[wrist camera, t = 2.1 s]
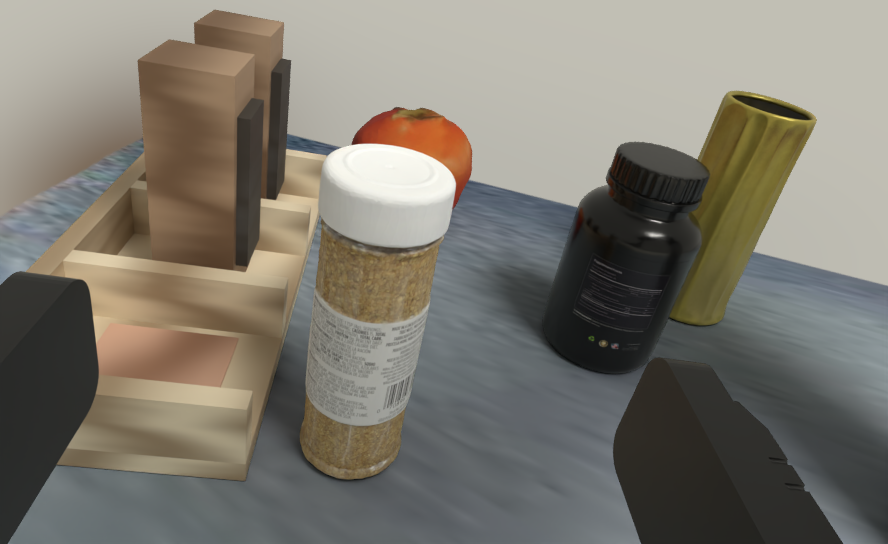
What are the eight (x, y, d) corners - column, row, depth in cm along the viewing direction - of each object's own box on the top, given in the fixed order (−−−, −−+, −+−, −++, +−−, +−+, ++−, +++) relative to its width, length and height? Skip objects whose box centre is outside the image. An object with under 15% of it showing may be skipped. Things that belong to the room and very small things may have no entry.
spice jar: (357, 393, 30) (396, 131, 23) (421, 451, 28) (486, 180, 21) (276, 435, 27) (294, 148, 20) (340, 504, 25) (385, 207, 18)
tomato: (454, 250, 44) (478, 145, 40) (328, 222, 44) (339, 114, 40) (465, 197, 52) (485, 105, 48) (358, 174, 52) (369, 79, 48)
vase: (663, 269, 48) (744, 85, 40) (737, 311, 44) (840, 119, 37) (620, 289, 44) (701, 90, 36) (697, 337, 40) (804, 128, 33)
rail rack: (322, 205, 46) (338, 23, 39) (245, 481, 25) (252, 190, 18) (168, 183, 45) (158, -10, 38) (-52, 455, 24) (-163, 128, 17)
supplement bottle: (544, 296, 41) (601, 123, 35) (645, 325, 41) (722, 154, 34) (532, 357, 35) (598, 163, 29) (651, 393, 35) (744, 201, 28)
